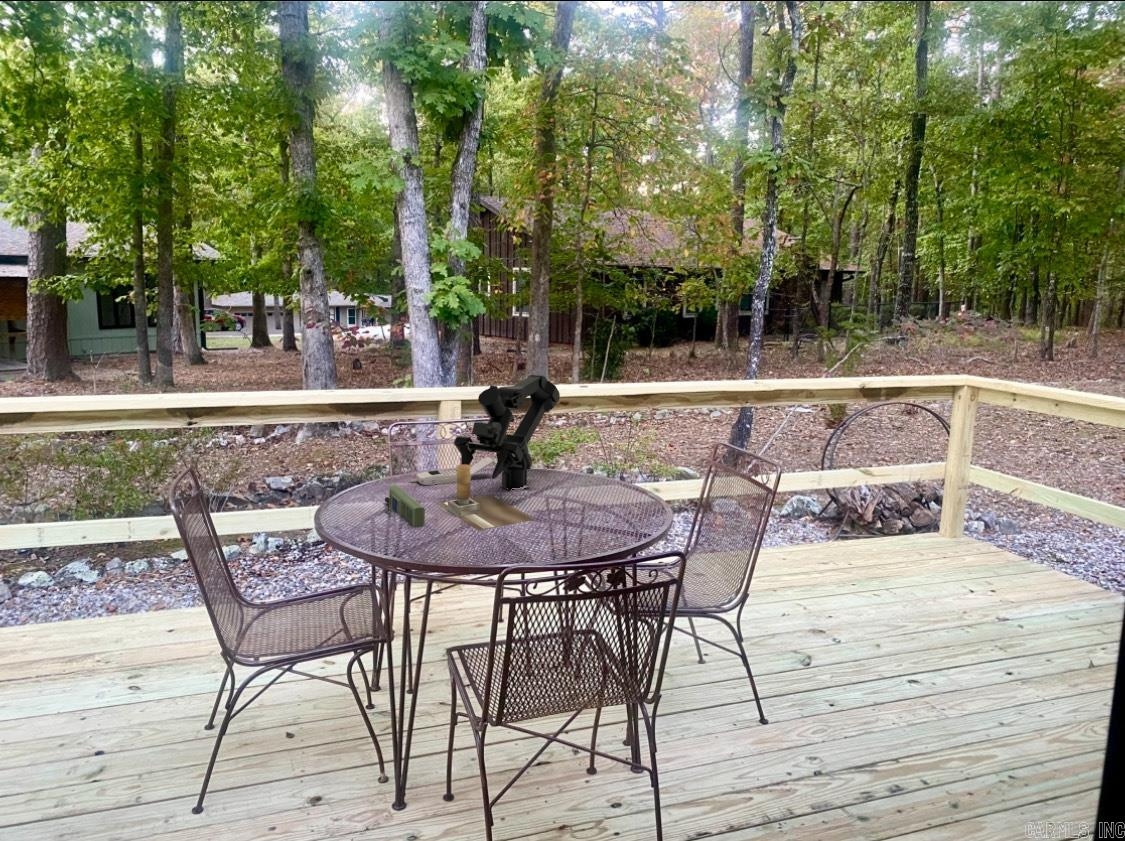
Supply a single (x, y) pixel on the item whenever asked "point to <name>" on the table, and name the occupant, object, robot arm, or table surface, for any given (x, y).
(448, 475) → the mobile phone
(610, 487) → the table surface
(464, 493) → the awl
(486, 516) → the board
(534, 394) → the robot arm
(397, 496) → the handheld radio
